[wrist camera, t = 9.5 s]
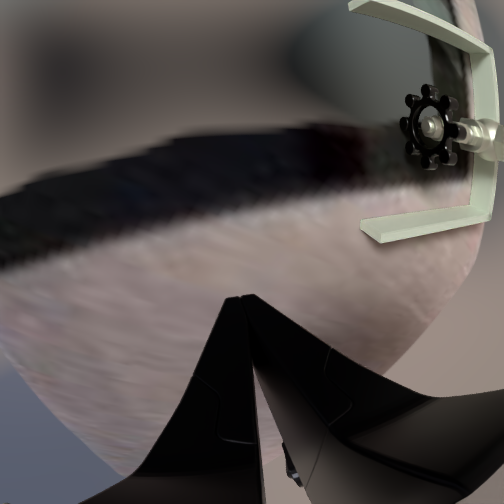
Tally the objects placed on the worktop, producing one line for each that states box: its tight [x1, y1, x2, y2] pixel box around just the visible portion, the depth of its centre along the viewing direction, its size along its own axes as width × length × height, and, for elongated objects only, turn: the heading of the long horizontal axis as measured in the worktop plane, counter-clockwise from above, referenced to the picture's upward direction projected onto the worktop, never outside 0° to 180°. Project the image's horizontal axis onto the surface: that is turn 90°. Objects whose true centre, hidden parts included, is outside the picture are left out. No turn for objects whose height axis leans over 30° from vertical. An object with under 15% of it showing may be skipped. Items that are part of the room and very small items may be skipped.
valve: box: [400, 84, 504, 170], centre depth 17 cm, size 7×7×12 cm
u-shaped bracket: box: [348, 0, 499, 244], centre depth 18 cm, size 19×16×3 cm
